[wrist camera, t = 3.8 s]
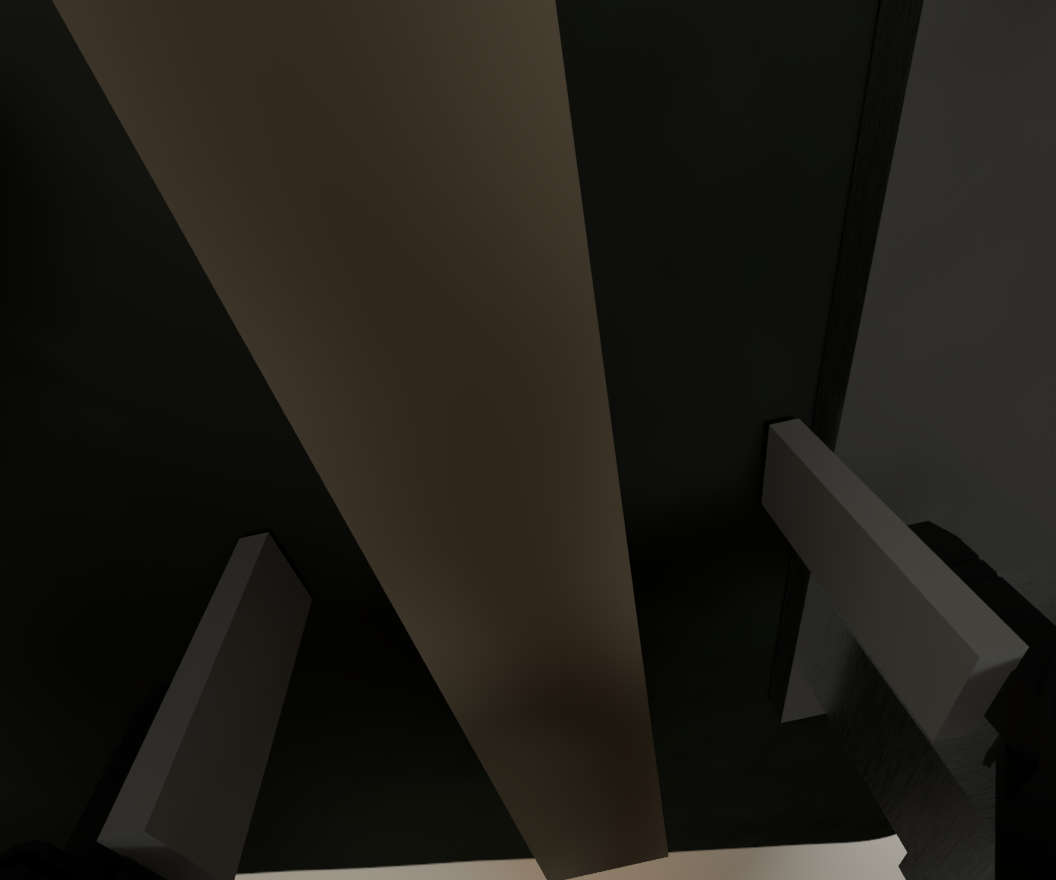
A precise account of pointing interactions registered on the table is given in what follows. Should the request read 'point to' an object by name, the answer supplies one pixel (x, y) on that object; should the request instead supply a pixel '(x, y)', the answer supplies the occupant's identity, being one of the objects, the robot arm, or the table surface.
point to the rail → (424, 349)
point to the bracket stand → (940, 380)
